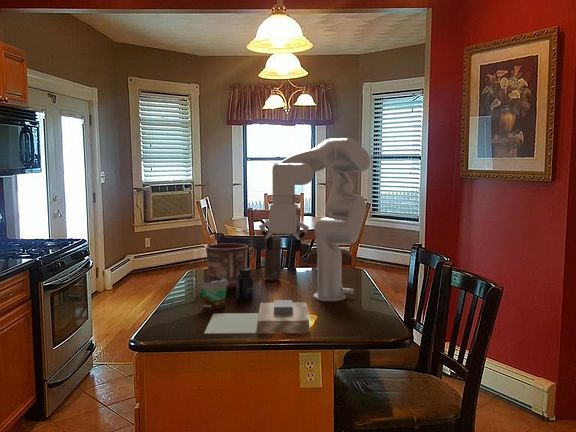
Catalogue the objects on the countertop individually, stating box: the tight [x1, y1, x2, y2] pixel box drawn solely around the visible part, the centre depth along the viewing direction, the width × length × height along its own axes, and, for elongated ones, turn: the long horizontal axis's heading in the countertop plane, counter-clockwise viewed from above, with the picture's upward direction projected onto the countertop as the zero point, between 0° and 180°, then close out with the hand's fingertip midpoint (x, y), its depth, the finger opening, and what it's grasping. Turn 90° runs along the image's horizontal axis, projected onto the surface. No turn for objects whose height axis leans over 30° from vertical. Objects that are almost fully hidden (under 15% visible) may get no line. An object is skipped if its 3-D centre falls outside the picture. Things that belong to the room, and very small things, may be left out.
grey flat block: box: [273, 299, 293, 315], centre depth 174 cm, size 6×9×2 cm, turn 0°
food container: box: [200, 277, 228, 310], centre depth 195 cm, size 12×6×10 cm, turn 148°
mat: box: [203, 312, 259, 335], centre depth 175 cm, size 16×22×1 cm
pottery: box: [205, 242, 249, 291], centre depth 227 cm, size 18×18×18 cm
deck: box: [257, 301, 310, 335], centre depth 174 cm, size 16×22×4 cm
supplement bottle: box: [235, 267, 255, 301], centre depth 207 cm, size 7×7×12 cm
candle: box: [263, 235, 282, 282], centre depth 239 cm, size 8×7×20 cm
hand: (283, 250), depth 180 cm, fingers open, 9 cm apart
